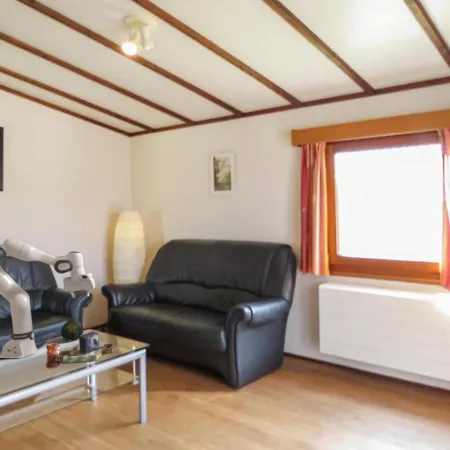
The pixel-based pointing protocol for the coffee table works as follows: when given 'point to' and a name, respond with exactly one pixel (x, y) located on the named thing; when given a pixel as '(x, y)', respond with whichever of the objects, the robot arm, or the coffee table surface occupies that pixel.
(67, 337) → the squash
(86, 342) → the small box
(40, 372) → the coffee table surface
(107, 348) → the trap lane
